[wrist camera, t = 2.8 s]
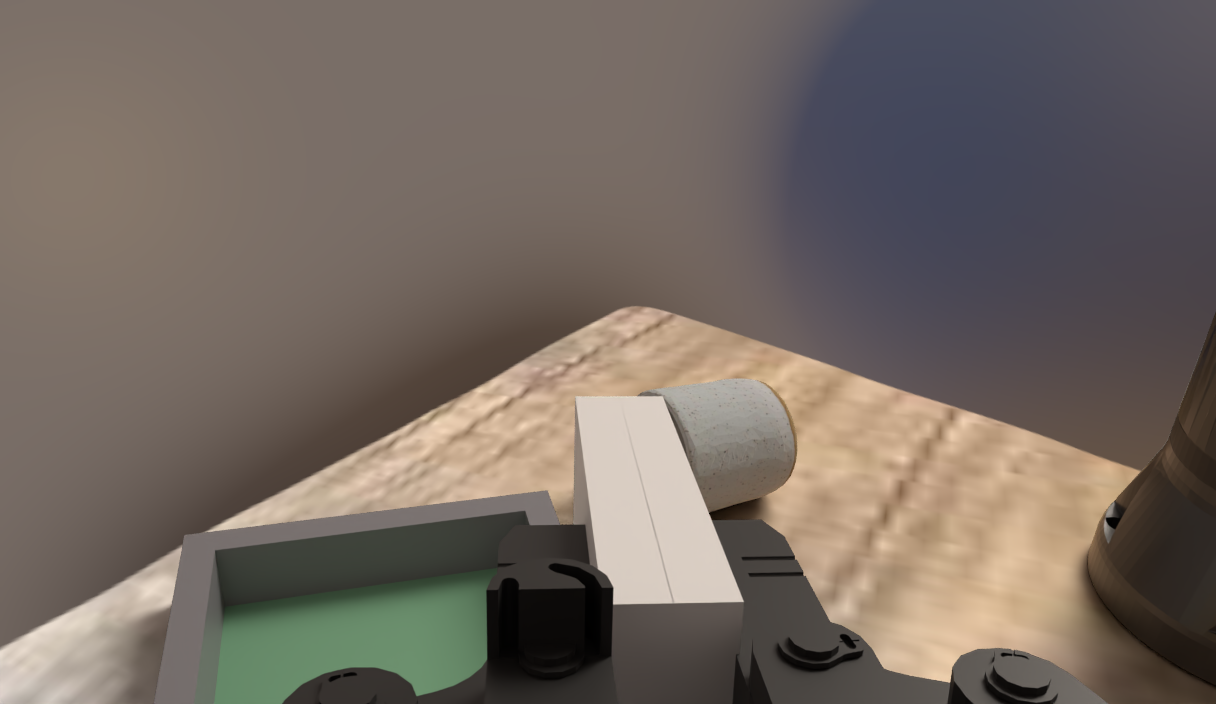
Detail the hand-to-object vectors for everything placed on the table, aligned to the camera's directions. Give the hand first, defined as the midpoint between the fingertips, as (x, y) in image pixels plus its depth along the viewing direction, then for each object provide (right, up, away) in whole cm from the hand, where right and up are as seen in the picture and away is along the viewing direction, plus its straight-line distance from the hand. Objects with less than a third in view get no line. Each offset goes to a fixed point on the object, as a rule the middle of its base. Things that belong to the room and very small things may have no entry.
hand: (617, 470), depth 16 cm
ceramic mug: (+5, -6, +42) cm, 43 cm away
